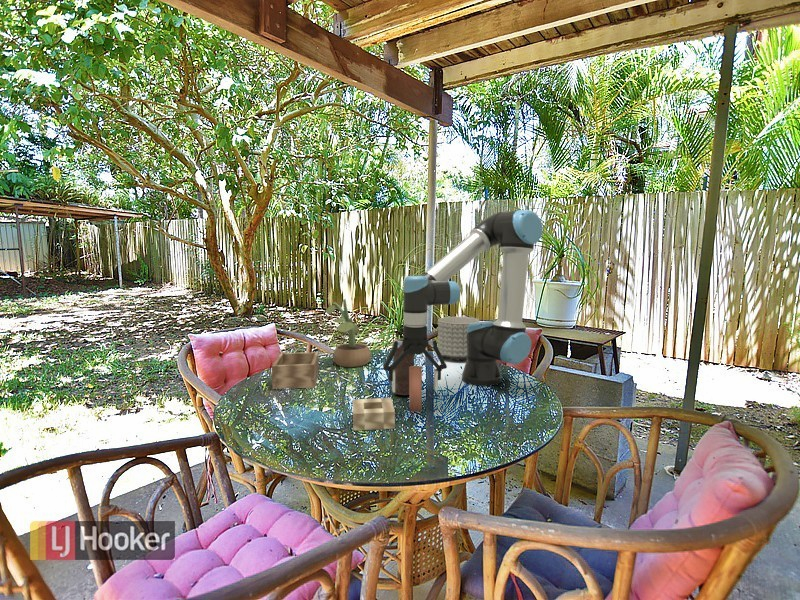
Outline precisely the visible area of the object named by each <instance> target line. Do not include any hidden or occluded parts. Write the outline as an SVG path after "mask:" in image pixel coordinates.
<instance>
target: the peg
mask: <svg viewBox="0 0 800 600" xmlns="http://www.w3.org/2000/svg"><path fill="white" fill-rule="evenodd" d="M422 371H423V370H422V366H419V365H414V366H410V367H409V397H408V398H409V399H408V400H409V401H408V402H409V403H408V404H409V406H408V407H409V408H408V409H409V411H410V412H413V413H420V412H421V411H423V409H422V408H423V406H422V405H423V401H422V400H423V398H422V397H423V396H422V395H423V392H422V391H423V390H422V389H423V388H422V387H423V382H422V381H423V380H422V379H423V375H422V373H423V372H422Z"/></svg>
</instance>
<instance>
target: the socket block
mask: <svg viewBox="0 0 800 600" xmlns="http://www.w3.org/2000/svg"><path fill="white" fill-rule="evenodd" d="M395 412H396V411H395V408H394V403H393V400H392V397H380V398H379V397H377V398H361V399H360V398H358V399H352V425H353V426H352V431H368V430H369V431H370V430H371V431H372V430H389V429H396V415H395V414H396V413H395Z"/></svg>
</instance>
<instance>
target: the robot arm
mask: <svg viewBox="0 0 800 600" xmlns="http://www.w3.org/2000/svg"><path fill="white" fill-rule="evenodd" d="M543 227H544V226H543V222H542V220H541V218H540V217H539V215H538V214H537V213H536V212H534V211H532V210H531V209H525V210H524V209H518V210H510V211H499V212H496V213H493V214H492V215H489V217H487V218H485V219H483V220H482V221H481V222H479V224H477V225H476V226H474V228H472V229H471V230H470V231H469V235H468V236H467V237H465V238H464V239H463V240H462V241H461V242H460V243H458V244H457V245H456V246H454V248H452V250H450V251H449V252H447V253H446V254H445V255H444V256H443V257H441V258H440V259H439V260H438V261H436V263H435V264H433V265H432V266H430V268H429V269H427V270H426V271H424V273H422V274H421V275H409V276H406V277H404V280H403V287H402V293H403V300H402V301H403V324H404V325H403V328H402V329H403V331H402V332H403V333H402V335H403V336H402V337H403V338H402V339H403V341H397V339H393V342H392V347H391V349H390V351H389V353H388V356H387V357H386V360H385V361H384V363H383V365H382V367H383V370H384V371H388V380H389V382H391V390H392V393H394V392H395V370H394V369H395V368H396V367H397V366H398V364H399V363H400V362H401V361H402V360H403V358H404V357H405V356H407V354H408V353H409V354H410V355H414V356H415V355H419V356H420V355H422V354H424V356H425V357H426V358H427V359H428V360H429V361H430V363H431V364H432V365H433V366H434V367H435V368H434V369H433V390H434V391H435V392H438V390H439V389H438V385H439V381H441V380H442V370H444V369H447V368H448V366H447V364H446V361H445V359H444V357H443V356H442V354H441V353H440V351H439V349H438V340H436V339H435V338H432V339H431V340H428V326H427V324H428V306H439V305H440V306H441V305H448V306H449V305H452V304H456V303H458V302H459V300H460V298H461V287H460V286H459V284H458V283H457V282H456V281H453V280H451V281H450V279H451V278H452V277H454V275H456V274H458V272H459V271H460V270H461V271H462V269H463V268H464V267H465V266H466V265H468V264H469V263H471V261H473V260H474V258H476V257H477V256H478V255H480V254H481V253H482V252H483V251H484V252H486V251H488V250H489V249H492V247H494V246H497V245H499V249H500V250H501V251H502V252H503V258H502V268H501V280H500V288H499V289H500V291H499V299H498V311H497V319H496V320H494V321H479V322H474V323H470V324H469V325H468V327H467V359H466V361H465V365H464V367H463V370H462V374H461V380H462V382H464V383H466V384H468V385H473V386H480V387H481V386H484V387H486V386H495V385H498V384H500V383H501V382H502V374H501V369H500V367H499V364H498V363H499V362H498V361H500V362H503V363H505V364H512V365H517V364H520V363H522V362H523V361H524V360H525V359H526V358H527V357H528V356H529V354H530V352H531V349H532V340H531V337H530V336H529V335H528V333H526V331H527V330H526V328H527V326H526V325H525V324H524V322H523V316H524V315H523V314H524V307H525V306H524V304H525V293H526V284H527V274H528V273H527V272H528V264H529V255H530V253H531V252H533V251H534V247H535V244H536V243H538V242H539V241H540V239H542V236H543V232H544V231H543V229H544V228H543ZM400 345H402V346H403V347H404V349H403V351H402V352H401V354H400V355H399V356H398V357H397V358H396V359H395V361H394V360H393V359H394V355H395V353H396V350H397V348H399V347H400ZM429 345H430V347H431V348H432V349H433V350H434V352H435V355H436V357H437V359H438V360H439V363H440V364H439V363H438V362H437V361H436V359H434V357H433V356H432V355H431V354H430V353H429V351H427V348H428V346H429ZM392 361H393V362H392Z"/></svg>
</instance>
